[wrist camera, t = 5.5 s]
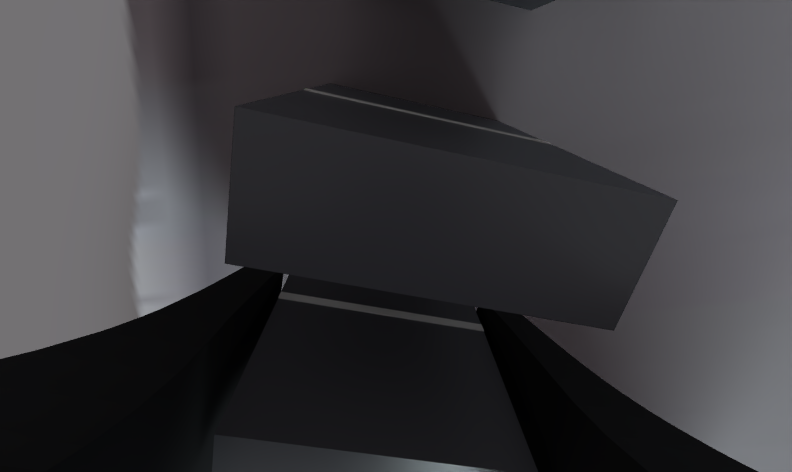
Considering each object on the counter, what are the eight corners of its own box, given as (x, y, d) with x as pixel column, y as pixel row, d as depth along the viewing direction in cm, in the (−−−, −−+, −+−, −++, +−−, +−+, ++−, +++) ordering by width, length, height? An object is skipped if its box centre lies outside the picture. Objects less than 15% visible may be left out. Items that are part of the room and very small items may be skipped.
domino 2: (442, 306, 13) (504, 550, 6) (301, 282, 12) (209, 518, 6) (456, 259, 12) (540, 475, 6) (308, 232, 12) (214, 432, 5)
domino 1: (480, 180, 11) (612, 331, 5) (321, 147, 11) (224, 264, 4) (498, 120, 11) (679, 198, 4) (330, 82, 10) (234, 104, 4)
